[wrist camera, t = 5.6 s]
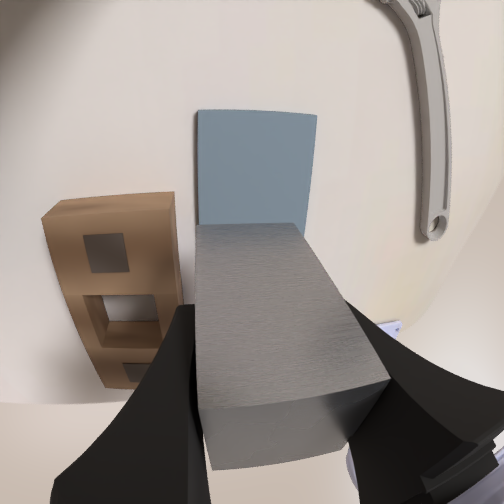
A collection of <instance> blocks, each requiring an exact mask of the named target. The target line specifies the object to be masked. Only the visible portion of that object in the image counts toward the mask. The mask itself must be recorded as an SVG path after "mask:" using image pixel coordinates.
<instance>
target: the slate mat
mask: <svg viewBox="0 0 504 504" xmlns="http://www.w3.org/2000/svg"><path fill="white" fill-rule="evenodd" d="M316 124H317V115H311V114H301V113H290V112H276V111H257V110H198V205H199V225H208V224H243V223H294V224H295V225H296V227H297V228H298V230H299V231H300V232H301V234H302V235H303V237H304V232H305V224H306V217H307V209H308V201H309V192H310V184H311V175H312V166H313V156H314V146H315V135H316Z"/></svg>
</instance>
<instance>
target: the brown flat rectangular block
mask: <svg viewBox="0 0 504 504" xmlns="http://www.w3.org/2000/svg"><path fill="white" fill-rule="evenodd" d="M41 220H42V225H43V229H44V233H45V237H46V241H47V244H48V248H49V252H50V255H51V258H52V262H53V265H54V268H55V271H56V275H57V278H58V281H59V284H60V287H61V289H62V292H63V295H64V298H65V301H66V303H67V306H68V308H69V311H70V314H71V316H72V319H73V321H74V323H75V326H76V328H77V331H78V333H79V335H80V337H81V340H82V342H83V344H84V346H85V349H86V351H87V353H88V355H89V357H90V359H91V361H92V363H93V365H94V367H95V369H96V371H97V373H98V375H99V377H100V379H101V381H102V383H103V384H104V386H105V388H115V389H136V388H137V386H138V385H139V383H140V381H141V380H142V378H143V377H144V375H145V373H146V371H147V370H148V368H149V366H150V364H151V363H152V361H153V359H154V357H155V355H156V354H157V352H158V349H159V347H160V345H161V343H162V341H163V339H164V337H165V335H166V333H167V331H168V328H169V326H170V324H171V321H172V319H173V316H174V313H175V310H176V307H178V306H179V305H184V302H183V293H182V284H181V274H180V264H179V253H178V242H177V229H176V214H175V197H174V192H156V193H139V194H125V195H112V196H100V197H89V198H79V199H69V200H61V201H60V202H58V203H57V204H56V205H55V206H54V207H53V208H52V209H51V210H50V211H48V212H47V213H46V214H45V215H44V216H43V217H42V218H41ZM147 294H154V299H155V304H156V309H157V314H158V319H159V321H109V318H108V315H107V312H106V309H105V306H104V303H103V299H102V296H101V295H147Z"/></svg>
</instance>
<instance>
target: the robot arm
mask: <svg viewBox="0 0 504 504" xmlns="http://www.w3.org/2000/svg"><path fill="white" fill-rule="evenodd" d="M344 300H345V299H344ZM345 302H346V303H347V305H348V307H349V308H350V310H351V312H352V313H353V315H354V316H355V318H356V320H357V321H358V323H359V325H360V326H361V328H362V330H363V331H364V333H365V335H366V336H367V338H368V340H369V341H370V343H371V345H372V346H373V348H374V350H375V351H376V353H377V355H378V357H379V358H380V360H381V362H382V364H383V365H384V367H385V369H386V371H387V372H388V374H389V376H390V378H391V379H390V381H389V383H388V384H387V386H386V387H385V389H384V391H383V392H382V394H381V395H380V397H379V398H378V400H377V401H376V403H375V404H374V406H373V407H372V409H371V410H370V412H369V413H368V415H367V416H366V418H365V419H364V420H363V422H362V423H361V425H360V426H359V427H358V429H357V430H356V431H355V433H354V434H353V435H352V437H351V438H350V439H349V441H348V443H349V449H348V453H347V456H346V464H347V468H348V472H349V475H350V477H351V480H352V482H353V484H354V485H355V487H356V489H357V490H358V491H359V499H360V504H504V446H503V447H502V448H501V449H500V450H499V451H497V452H496V453H495V454H493V452H492V450H493V449H494V448H495V447H496V445H495V443H494V441H493V439H494V438H495V437H496V436H498V435H499V434H500V433H501V432H502V431H503V430H504V391H501V390H497V389H494V388H490V387H486V386H483V385H480V384H477V383H475V382H472V381H469V380H467V379H464V378H462V377H460V376H457V375H455V374H453V373H451V372H449V371H447V370H444V369H443V368H440V367H439V366H437V365H435V364H433V363H431V362H429V361H428V360H426V359H424V358H423V357H421V356H419V355H418V354H416V353H414V352H413V351H411V350H410V349H408V348H407V347H405V346H404V345H402V344H401V343H399V342H398V341H397V340H395V339H396V337H397V335H398V333H399V331H400V329H401V326H402V322H401V321H394V322H388V323H383V324H377V325H376V324H374V323H373V322H372V321H371V320H369V319H368V318H367V317H366V316H364V315H363V314H362V313H361V312H359V311H358V310H357V309H356V308H355V307H353V306H352V305H351V304H350V303H348V302H347V301H346V300H345ZM207 479H208V478H207V470H206V461H205V452H204V442H203V429H202V424H201V420H200V415H199V410H198V393H197V370H196V335H195V304H188V305H179V306H178V307H176V310H175V313H174V316H173V319H172V321H171V324H170V326H169V328H168V331H167V333H166V335H165V337H164V339H163V341H162V343H161V345H160V347H159V349H158V352H157V354H156V355H155V357H154V359H153V361H152V363H151V364H150V366H149V368H148V370H147V371H146V373H145V375H144V377H143V378H142V380H141V381H140V383H139V385H138V386H137V388H136V389H135V391H134V392H133V394H132V395H131V397H130V398H129V400H128V401H127V402H126V404H125V405H124V406H123V408H122V409H121V411H120V412H119V413H118V414H117V416H116V417H115V418H114V420H113V421H112V422H111V424H110V425H109V426H108V427H107V428H106V429H105V430H104V432H103V433H102V434H101V435H100V436H99V437H98V438H97V439H96V440H95V441H94V442H93V444H92V445H91V446H90V447H89V448H88V449H87V450H86V451H85V452H84V453H83V454H82V455H81V456H80V457H79V458H78V459H77V460H76V461H75V462H73V463H72V464H71V465H70V466H69V467H68V468H67V469H65V470H64V471H63V472H62V473H61V474H60V475H59V476H58V477H57V478H56V479H55V480H54V484H53V488H52V492H51V497H50V504H211V500H210V493H209V486H208V480H207Z"/></svg>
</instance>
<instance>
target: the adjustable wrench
mask: <svg viewBox="0 0 504 504" xmlns="http://www.w3.org/2000/svg"><path fill="white" fill-rule="evenodd" d="M379 1H380V2H381V3H383V4H389V6H390V7H391V8H392V9H393V10H394V11H395V13H396V14H397V15H398V16H399V17H400V19H401V20H402V22H403V24H404V25H405V28H406V30H407V32H408V35H409V39H410V42H411V47H412V53H413V59H414V65H415V71H416V78H417V86H418V95H419V105H420V116H421V132H422V206H421V222H420V230H421V232H422V234H424V235H425V236H426V237H427V238H428V239H430V240H431V241H436V240H438V239H440V238H441V237H442V236H443V235H444V234H445V232H446V230H447V227H448V221H449V210H450V197H451V174H452V141H451V119H450V106H449V95H448V87H447V79H446V72H445V65H444V59H443V54H442V48H441V43H440V36H439V15H440V3H441V0H379ZM420 14H422V16H421V17H419V18H418V16H417V15H420ZM437 216H438V217H439V221H438V224H437V226H436V228H435V229H434V230H433V231H431V232H429V227H430V225H431V223H432V221H433V220H434V219H435V218H436V217H437Z"/></svg>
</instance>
